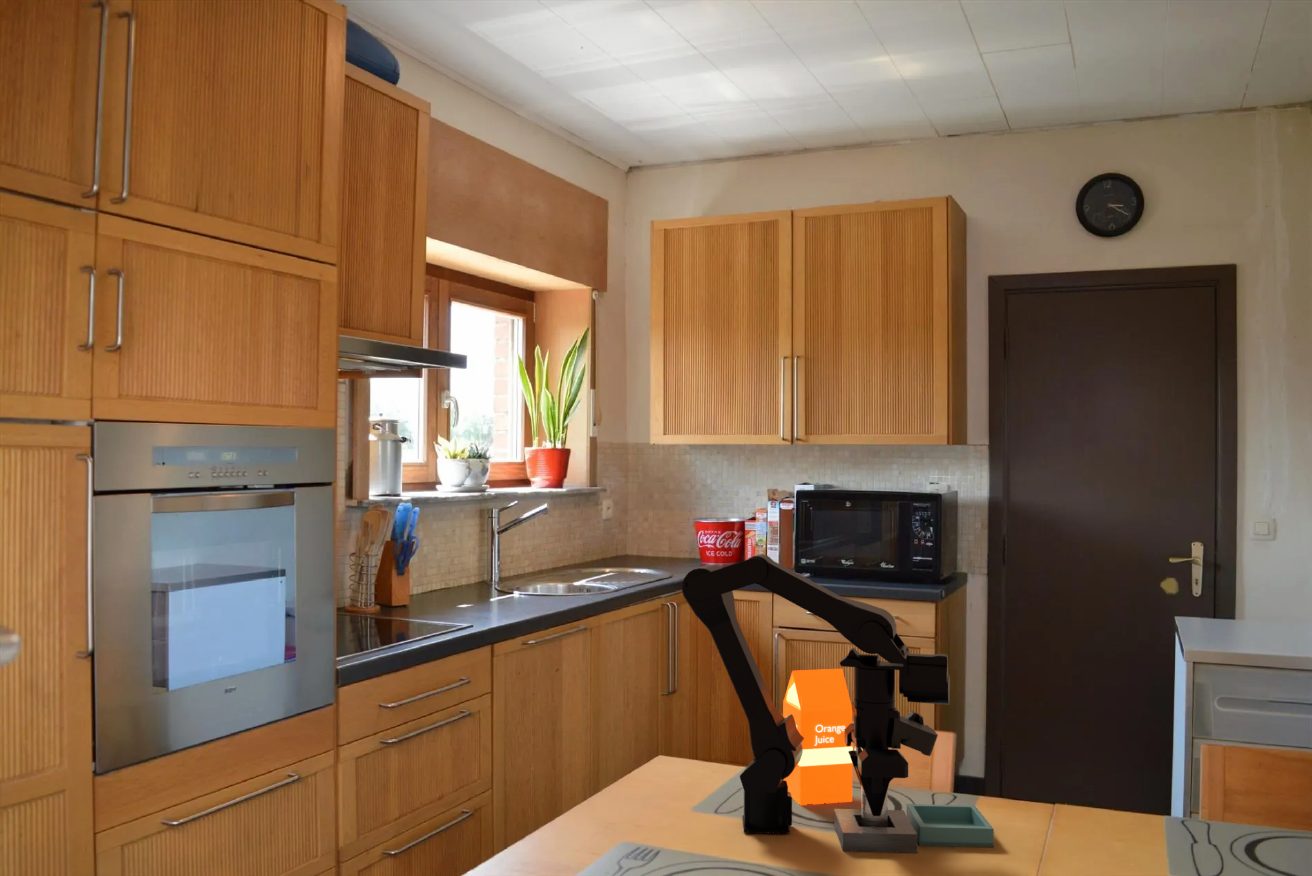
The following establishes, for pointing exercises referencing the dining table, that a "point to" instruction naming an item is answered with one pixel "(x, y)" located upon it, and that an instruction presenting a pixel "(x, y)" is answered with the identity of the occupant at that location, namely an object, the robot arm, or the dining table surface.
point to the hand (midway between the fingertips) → (874, 811)
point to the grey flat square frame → (875, 833)
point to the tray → (950, 825)
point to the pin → (866, 813)
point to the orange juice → (820, 736)
